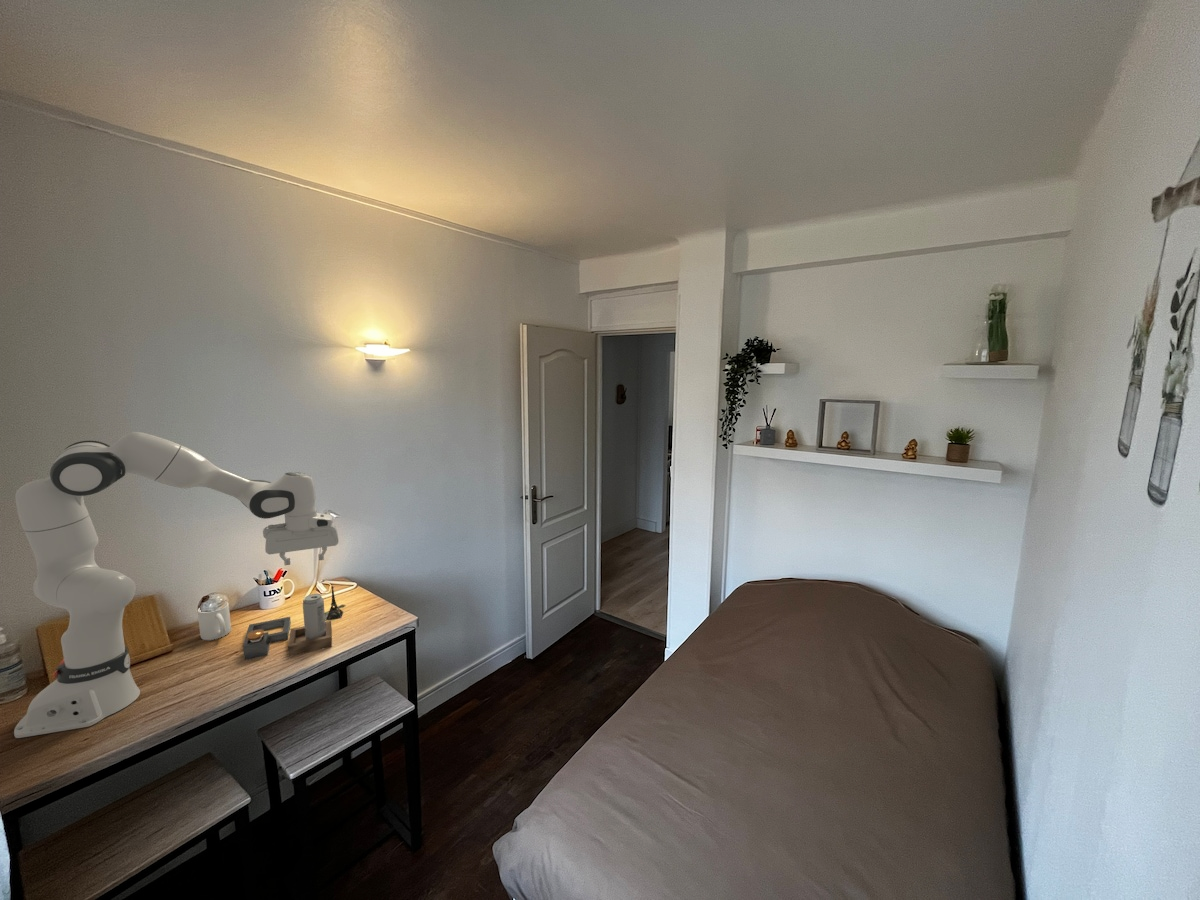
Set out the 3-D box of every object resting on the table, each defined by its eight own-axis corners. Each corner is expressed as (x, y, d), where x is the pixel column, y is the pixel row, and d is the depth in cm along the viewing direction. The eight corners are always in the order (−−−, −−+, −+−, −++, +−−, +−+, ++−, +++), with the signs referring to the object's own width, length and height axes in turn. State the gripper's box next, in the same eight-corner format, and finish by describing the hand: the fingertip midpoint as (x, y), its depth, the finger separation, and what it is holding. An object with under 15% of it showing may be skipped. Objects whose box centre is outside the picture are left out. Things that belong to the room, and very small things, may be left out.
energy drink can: (310, 634, 163) (307, 593, 160) (329, 633, 163) (326, 592, 161) (302, 643, 157) (298, 601, 154) (321, 643, 157) (318, 600, 155)
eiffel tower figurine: (343, 605, 186) (341, 573, 184) (361, 611, 182) (359, 578, 180) (305, 622, 173) (303, 588, 171) (324, 629, 169) (321, 594, 166)
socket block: (240, 661, 148) (238, 646, 148) (250, 631, 166) (248, 617, 165) (286, 651, 154) (284, 637, 153) (290, 623, 171) (289, 610, 171)
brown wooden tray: (288, 656, 151) (287, 646, 151) (291, 638, 162) (290, 628, 161) (331, 646, 157) (330, 637, 157) (331, 629, 167) (331, 620, 167)
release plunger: (247, 656, 150) (245, 638, 149) (249, 649, 154) (247, 631, 153) (264, 652, 152) (262, 634, 151) (266, 645, 156) (264, 628, 155)
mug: (239, 636, 162) (236, 608, 160) (209, 647, 155) (205, 618, 154) (226, 625, 169) (223, 598, 167) (197, 635, 162) (193, 607, 161)
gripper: (261, 528, 145) (265, 571, 147) (337, 520, 155) (339, 560, 157) (263, 523, 150) (267, 564, 153) (336, 515, 160) (339, 553, 162)
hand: (304, 562), depth 155 cm, fingers open, 8 cm apart
